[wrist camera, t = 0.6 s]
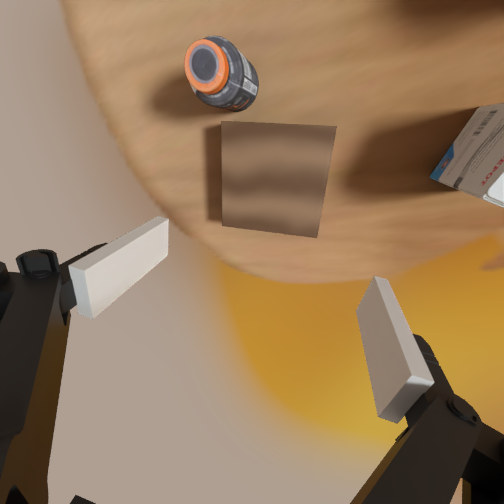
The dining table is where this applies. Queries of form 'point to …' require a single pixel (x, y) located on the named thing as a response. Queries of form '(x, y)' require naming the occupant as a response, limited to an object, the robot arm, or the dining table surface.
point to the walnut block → (275, 176)
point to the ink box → (477, 157)
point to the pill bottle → (221, 74)
